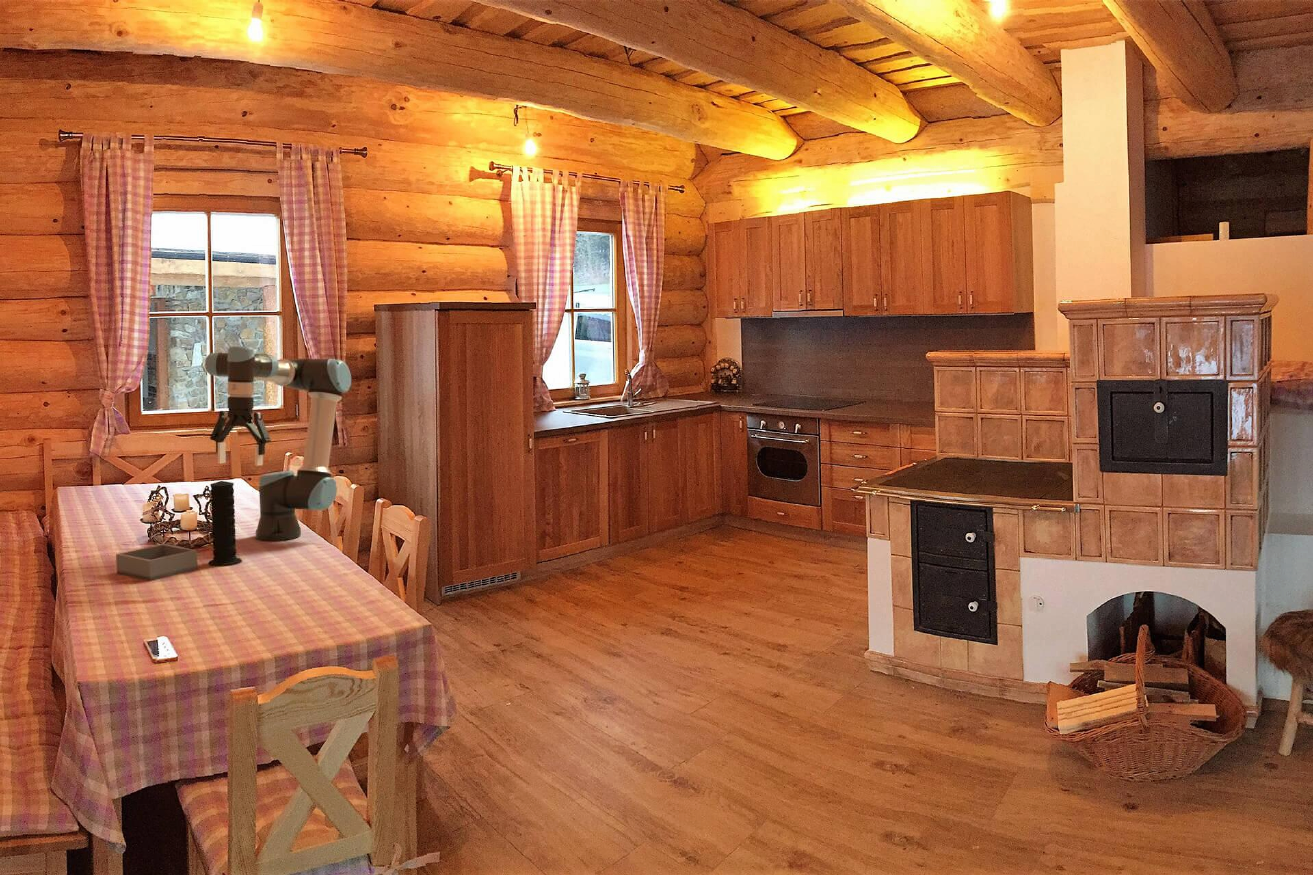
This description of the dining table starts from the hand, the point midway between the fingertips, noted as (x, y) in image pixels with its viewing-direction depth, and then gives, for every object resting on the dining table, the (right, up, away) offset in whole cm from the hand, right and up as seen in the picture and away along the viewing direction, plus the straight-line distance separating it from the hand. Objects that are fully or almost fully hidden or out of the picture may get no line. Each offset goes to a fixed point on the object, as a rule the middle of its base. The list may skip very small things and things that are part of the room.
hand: (240, 464), depth 315 cm
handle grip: (-8, -32, +8) cm, 34 cm away
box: (-24, -33, -4) cm, 41 cm away
